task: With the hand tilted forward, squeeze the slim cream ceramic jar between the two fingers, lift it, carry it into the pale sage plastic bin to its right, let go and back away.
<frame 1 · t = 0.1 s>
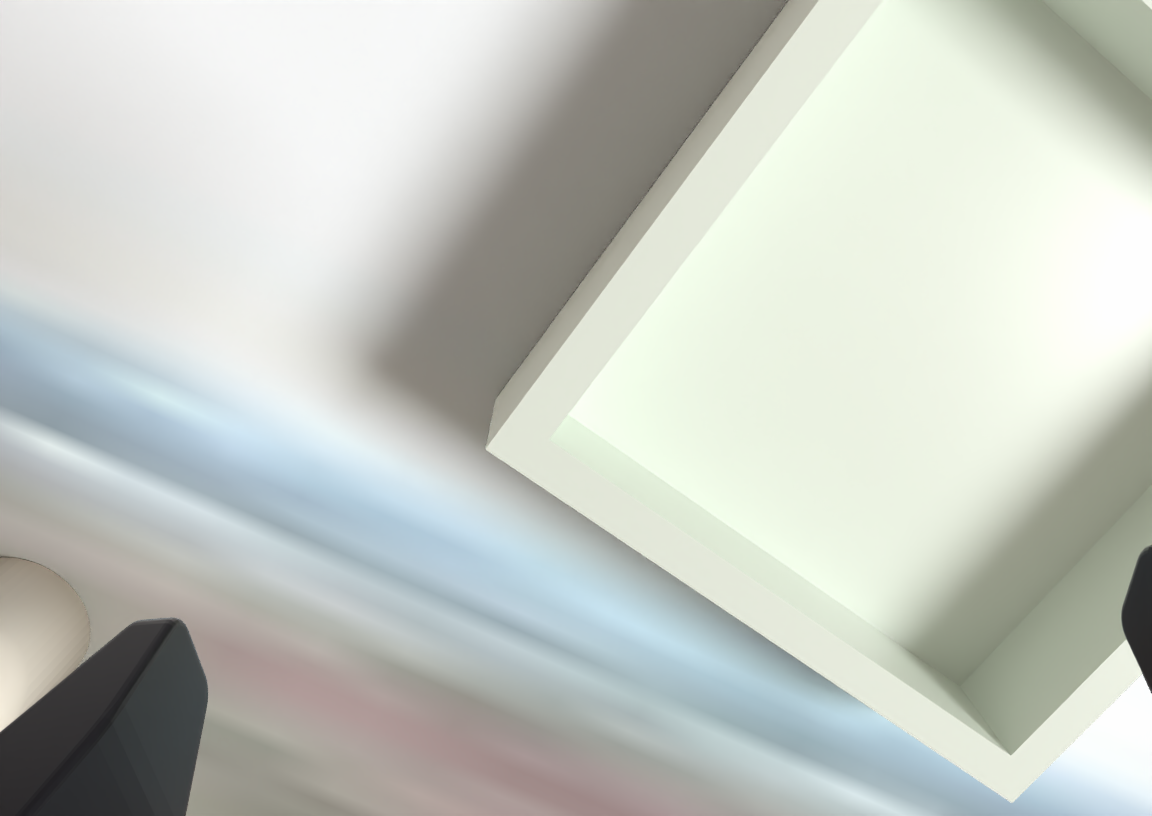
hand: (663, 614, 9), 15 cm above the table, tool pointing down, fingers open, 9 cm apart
bin: (929, 331, 24), on the table
jar: (16, 623, 26), on the table
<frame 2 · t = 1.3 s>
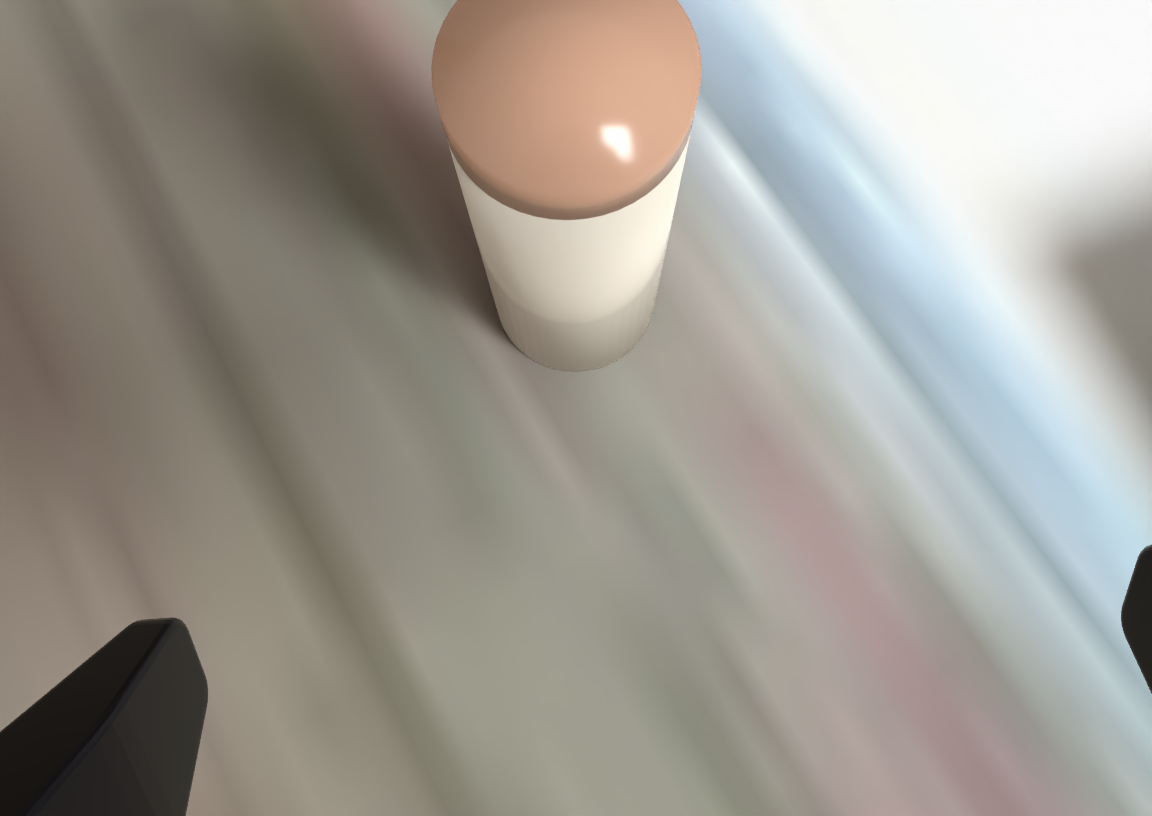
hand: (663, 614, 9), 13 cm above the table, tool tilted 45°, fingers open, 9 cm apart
jar: (575, 295, 24), on the table
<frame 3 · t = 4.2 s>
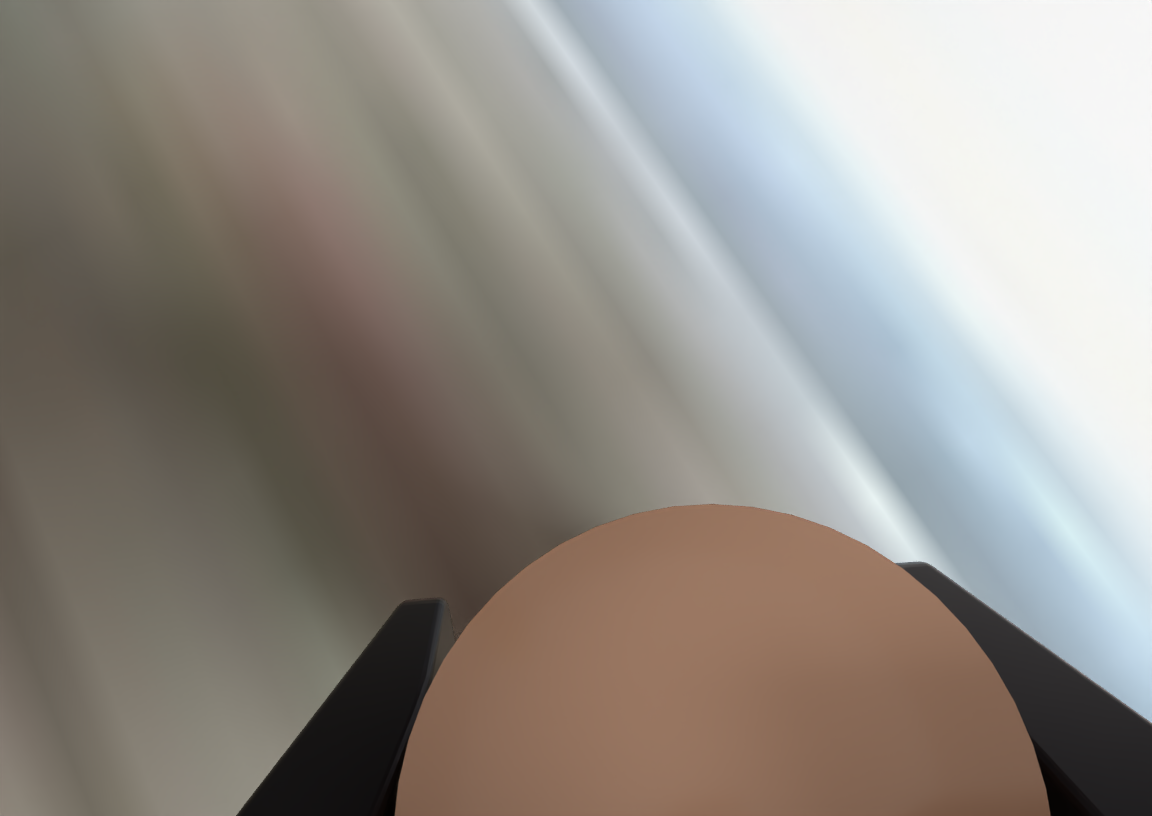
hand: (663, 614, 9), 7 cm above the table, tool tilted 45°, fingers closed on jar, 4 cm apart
jar: (638, 712, 15), on the table, touching gripper
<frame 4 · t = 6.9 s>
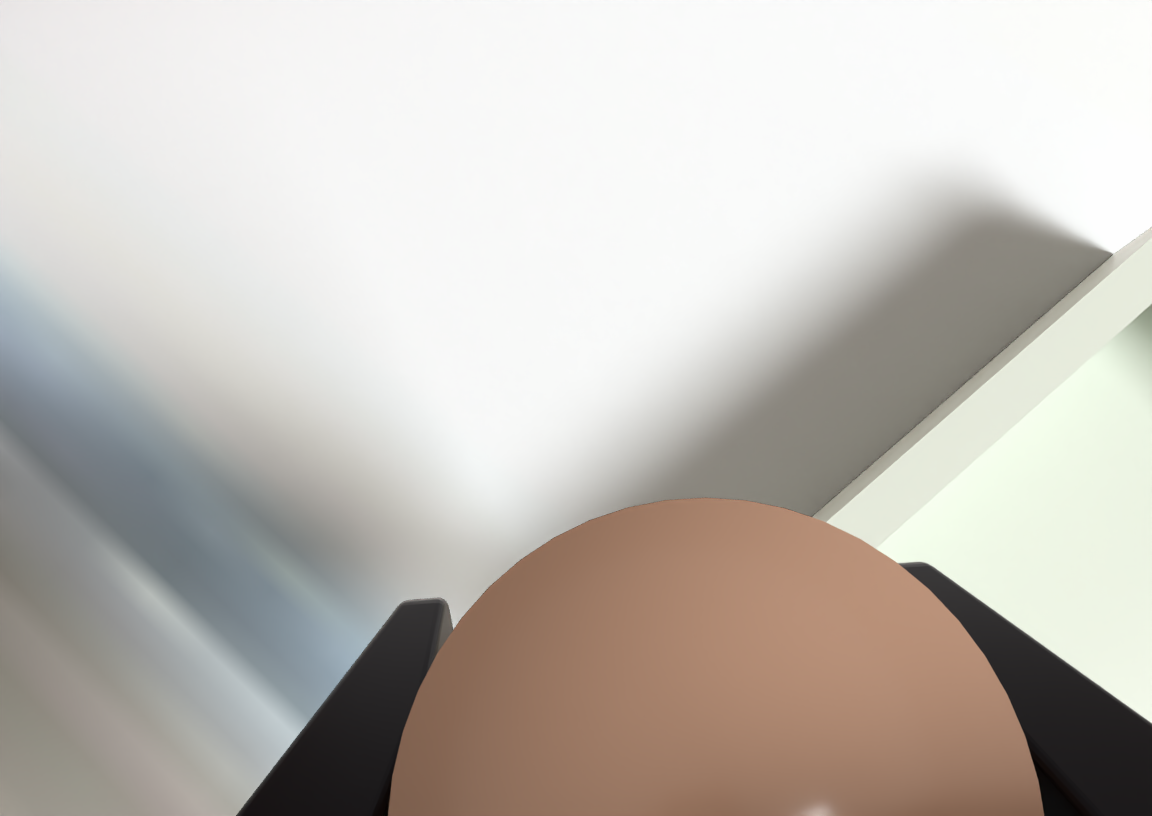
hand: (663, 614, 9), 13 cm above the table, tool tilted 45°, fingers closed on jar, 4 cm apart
bin: (1134, 716, 21), on the table
jar: (636, 709, 15), point 6 cm above the table, touching gripper
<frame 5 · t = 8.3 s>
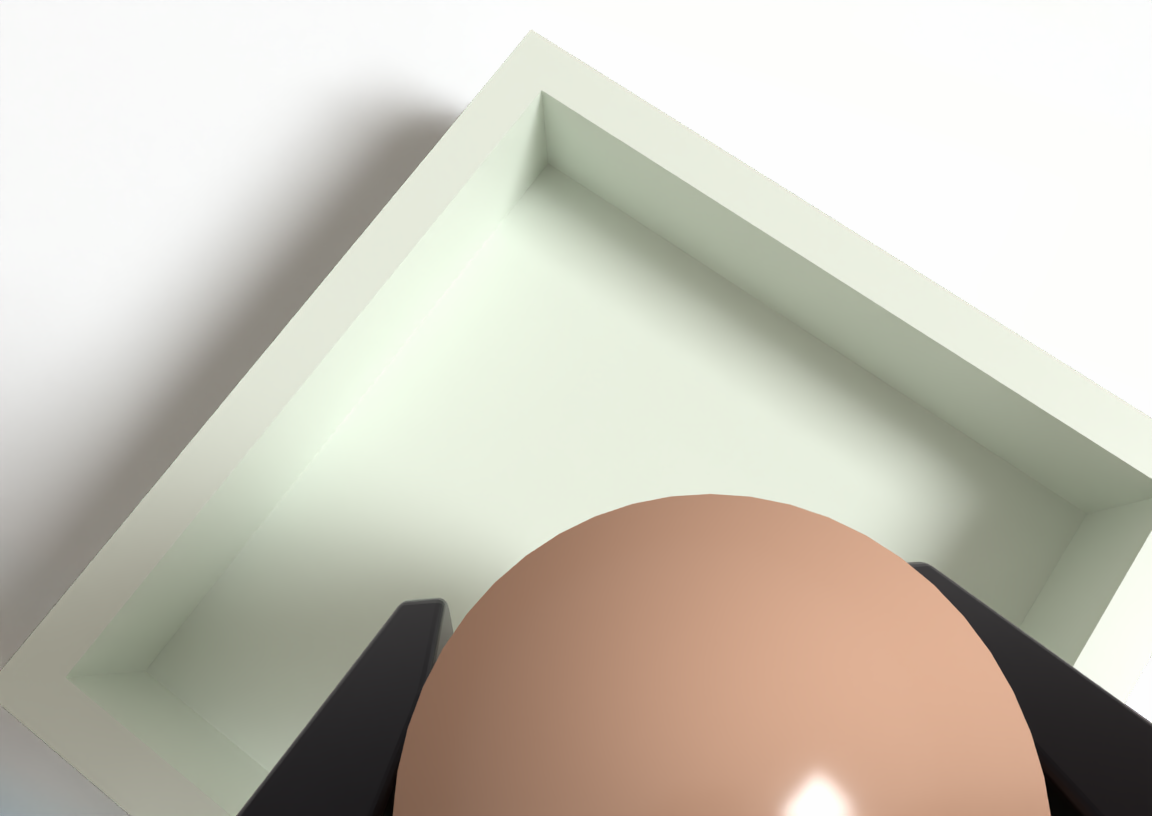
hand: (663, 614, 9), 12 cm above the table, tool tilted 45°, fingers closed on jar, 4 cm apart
bin: (620, 593, 20), on the table
jar: (638, 708, 15), point 5 cm above the table, touching gripper
when the fingers open (9 cm above the table, at t = 9.4 s): jar drops 1 cm, resting on bin.
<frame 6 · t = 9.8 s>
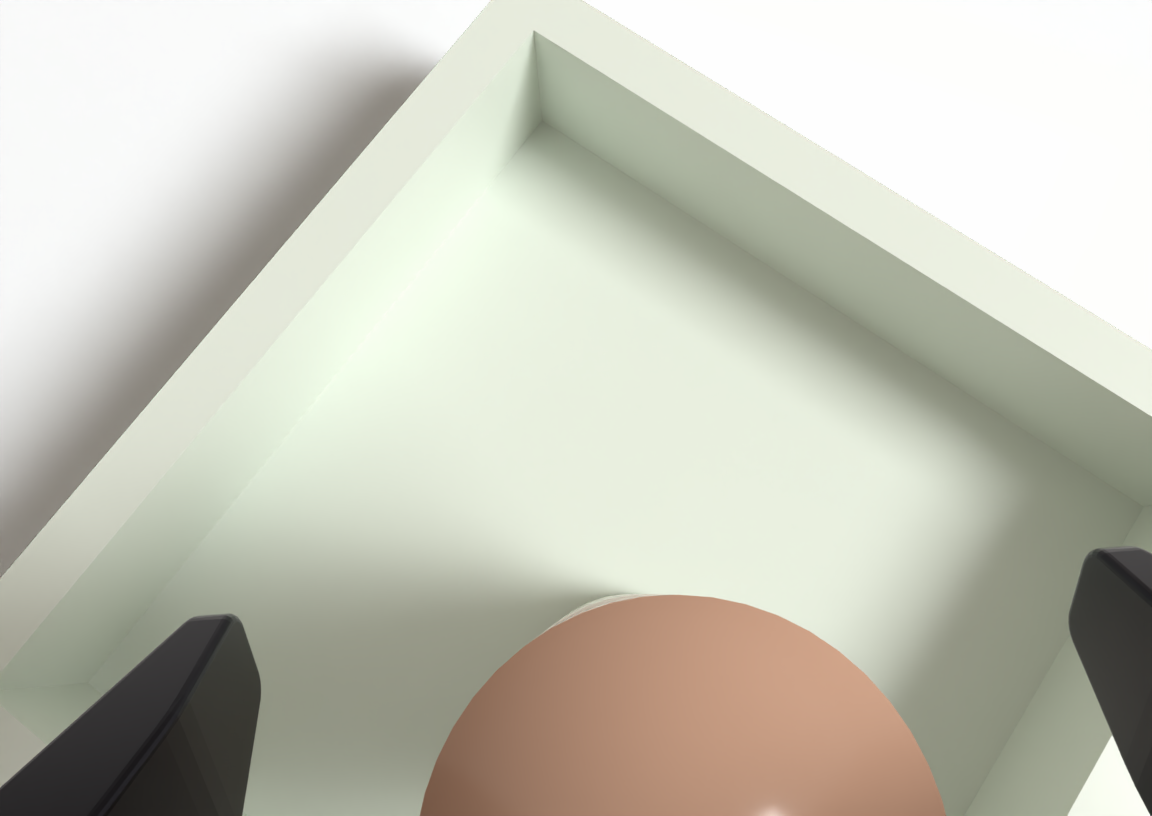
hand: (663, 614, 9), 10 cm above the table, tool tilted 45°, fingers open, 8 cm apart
bin: (621, 596, 18), on the table
jar: (631, 707, 17), point 1 cm above the table, touching bin
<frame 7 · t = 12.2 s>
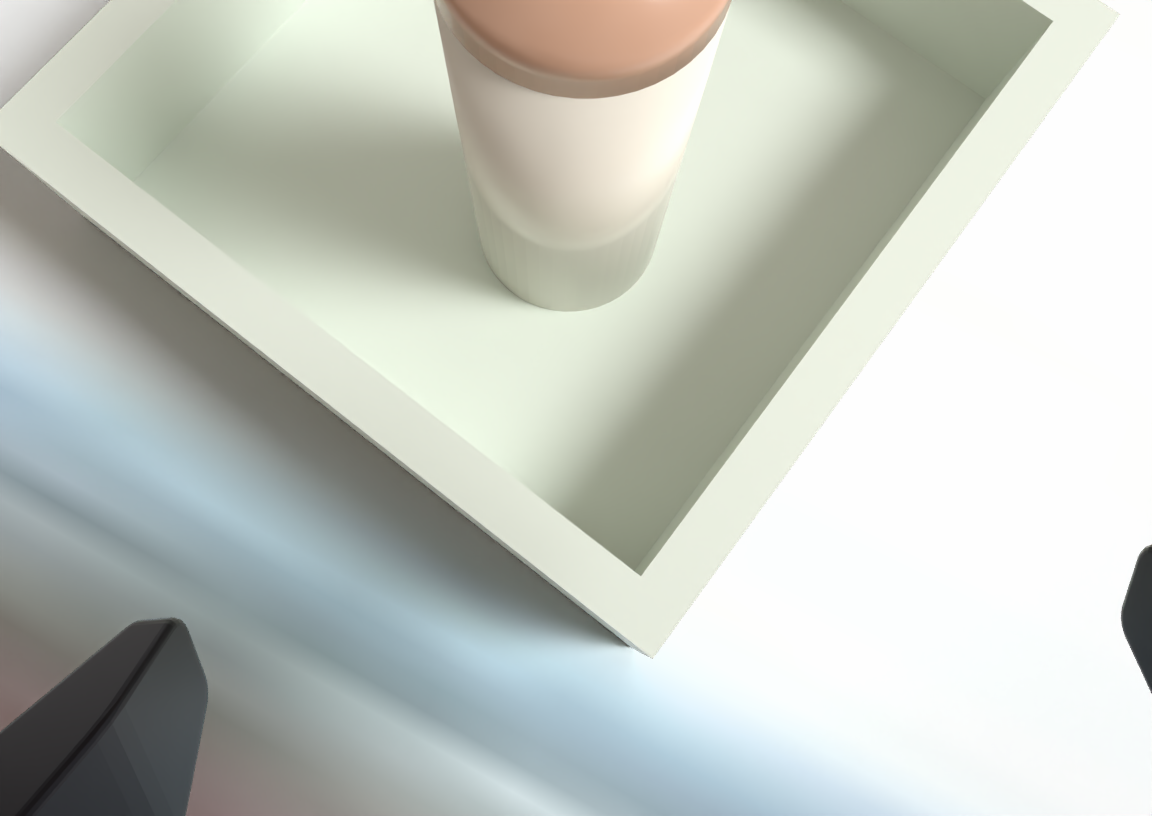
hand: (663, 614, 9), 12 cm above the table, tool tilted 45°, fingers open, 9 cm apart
bin: (565, 163, 22), on the table
jar: (568, 225, 21), point 1 cm above the table, touching bin
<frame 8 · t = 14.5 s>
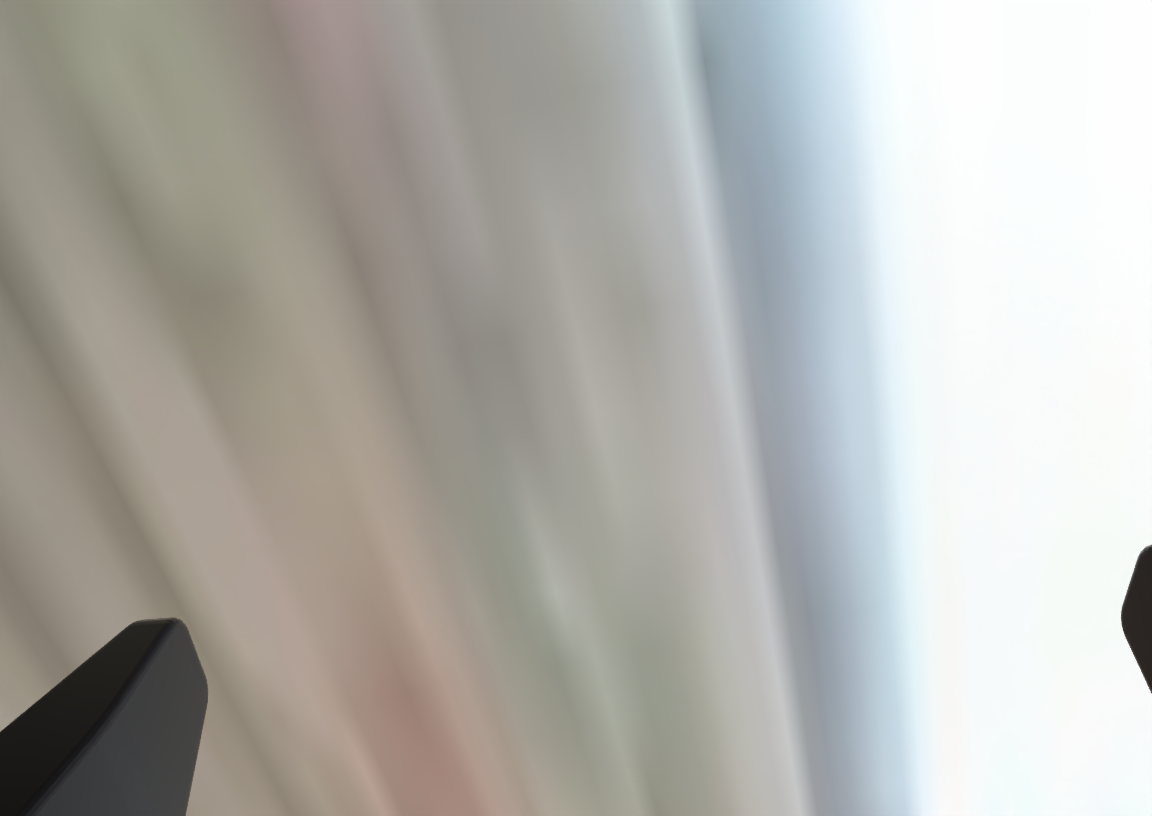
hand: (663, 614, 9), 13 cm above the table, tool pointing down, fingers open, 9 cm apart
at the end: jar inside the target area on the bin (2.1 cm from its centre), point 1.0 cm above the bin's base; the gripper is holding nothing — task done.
